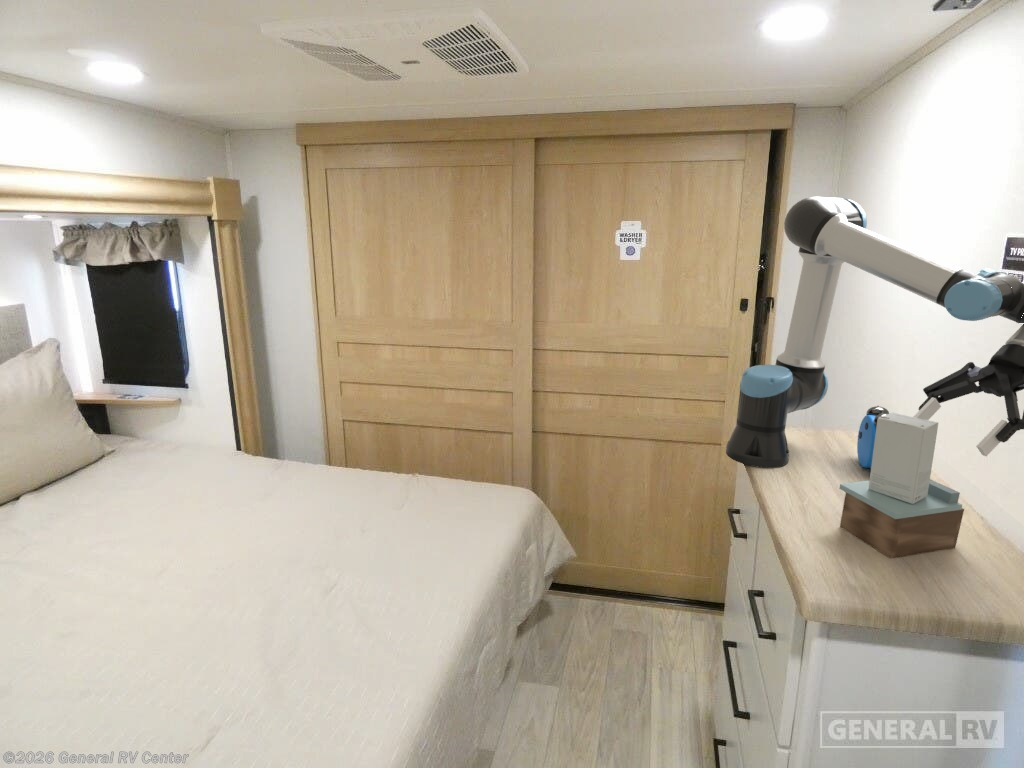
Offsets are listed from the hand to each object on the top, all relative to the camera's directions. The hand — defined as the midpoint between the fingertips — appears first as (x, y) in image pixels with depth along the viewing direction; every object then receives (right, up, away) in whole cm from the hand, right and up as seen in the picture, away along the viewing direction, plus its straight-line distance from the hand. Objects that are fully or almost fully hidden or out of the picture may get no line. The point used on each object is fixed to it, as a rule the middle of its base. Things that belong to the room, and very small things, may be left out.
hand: (945, 438), depth 112 cm
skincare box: (-9, -11, 0) cm, 14 cm away
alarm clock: (+8, -11, +36) cm, 39 cm away
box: (-8, -19, +3) cm, 21 cm away
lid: (-9, -12, 0) cm, 15 cm away
